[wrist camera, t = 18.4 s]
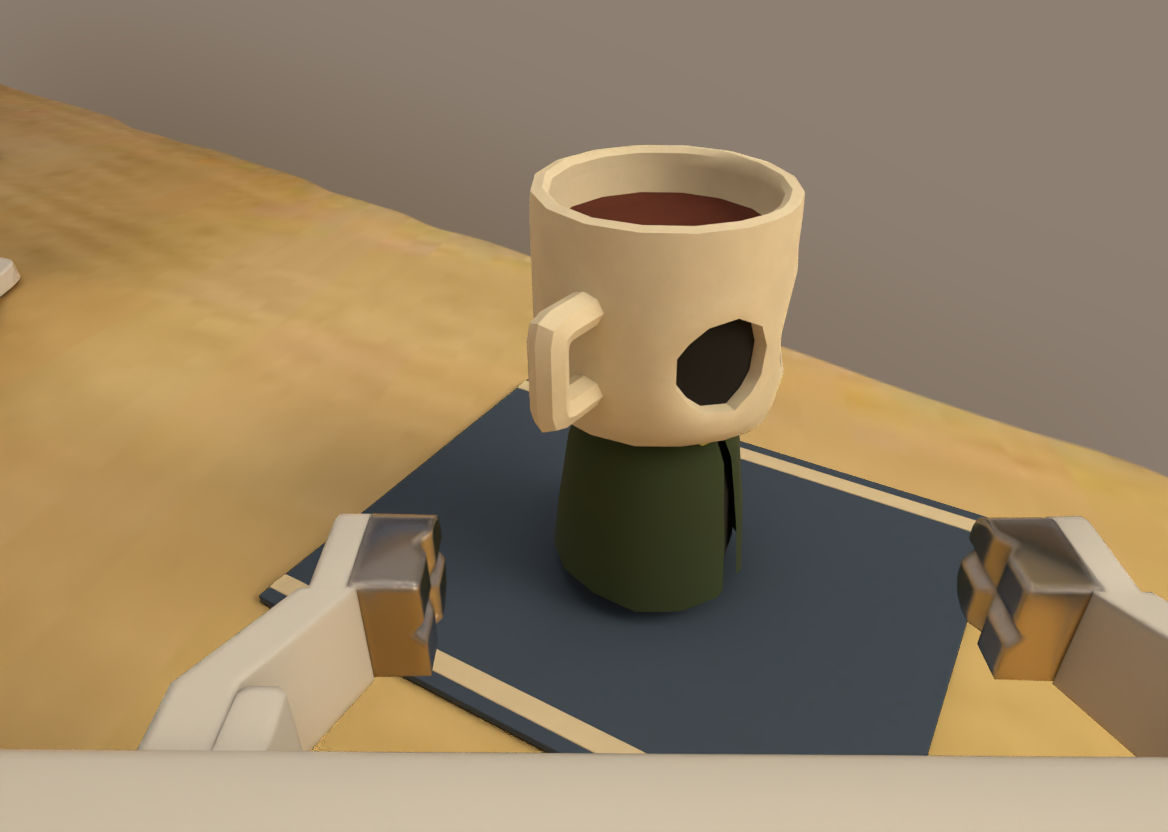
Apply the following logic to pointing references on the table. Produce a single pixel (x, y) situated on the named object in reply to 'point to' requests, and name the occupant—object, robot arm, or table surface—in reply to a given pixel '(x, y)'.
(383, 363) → the table surface
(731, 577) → the napkin
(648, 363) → the character mug
